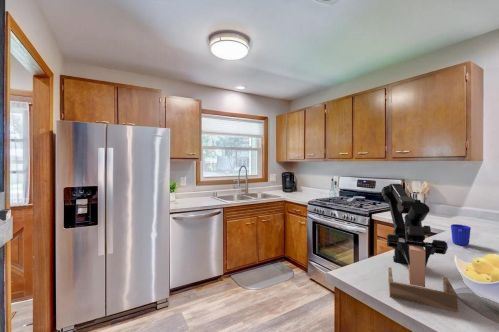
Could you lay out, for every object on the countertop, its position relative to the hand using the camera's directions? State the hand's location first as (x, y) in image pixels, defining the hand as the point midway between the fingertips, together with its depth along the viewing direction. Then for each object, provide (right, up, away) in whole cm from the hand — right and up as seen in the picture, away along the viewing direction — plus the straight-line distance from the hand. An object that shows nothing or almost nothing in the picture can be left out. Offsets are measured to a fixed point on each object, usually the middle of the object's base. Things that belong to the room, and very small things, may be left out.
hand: (417, 265), depth 86 cm
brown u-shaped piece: (-1, -9, -3) cm, 9 cm away
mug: (+55, -7, +43) cm, 70 cm away
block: (+1, -7, +1) cm, 7 cm away
